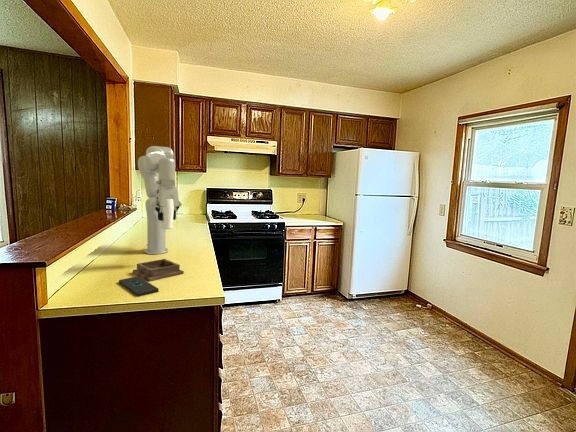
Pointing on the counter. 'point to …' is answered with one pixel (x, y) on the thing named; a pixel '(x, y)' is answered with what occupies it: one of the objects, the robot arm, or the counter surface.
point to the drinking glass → (168, 215)
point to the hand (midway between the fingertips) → (167, 219)
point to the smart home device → (138, 286)
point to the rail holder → (157, 269)
